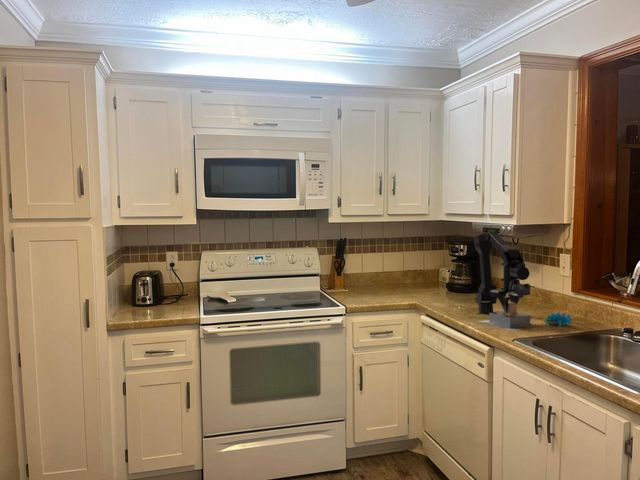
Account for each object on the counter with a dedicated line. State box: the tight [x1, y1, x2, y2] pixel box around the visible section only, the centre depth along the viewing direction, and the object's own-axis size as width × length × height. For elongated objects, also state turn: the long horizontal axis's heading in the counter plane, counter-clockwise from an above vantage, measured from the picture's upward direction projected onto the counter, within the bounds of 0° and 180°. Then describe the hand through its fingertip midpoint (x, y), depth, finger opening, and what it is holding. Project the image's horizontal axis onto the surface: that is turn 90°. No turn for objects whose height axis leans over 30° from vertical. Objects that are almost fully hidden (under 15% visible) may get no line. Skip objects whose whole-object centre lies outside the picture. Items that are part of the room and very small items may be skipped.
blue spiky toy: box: [543, 312, 573, 328], centre depth 209 cm, size 11×6×10 cm
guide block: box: [488, 310, 531, 329], centre depth 213 cm, size 12×12×5 cm
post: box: [502, 301, 518, 316], centre depth 213 cm, size 4×4×10 cm
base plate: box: [478, 319, 540, 332], centre depth 213 cm, size 20×18×1 cm
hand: (509, 311), depth 213 cm, fingers closed on post, 4 cm apart
